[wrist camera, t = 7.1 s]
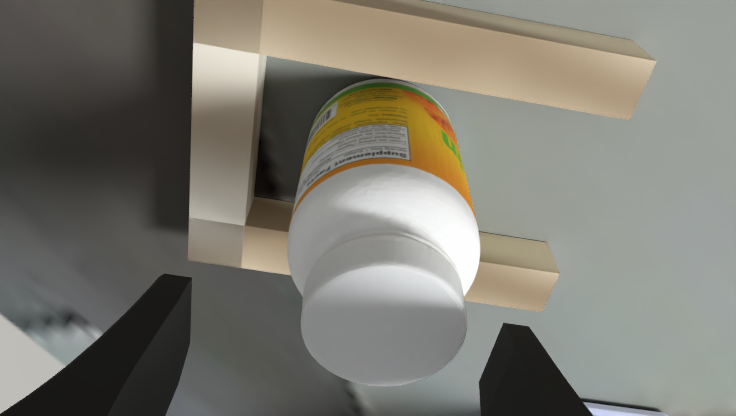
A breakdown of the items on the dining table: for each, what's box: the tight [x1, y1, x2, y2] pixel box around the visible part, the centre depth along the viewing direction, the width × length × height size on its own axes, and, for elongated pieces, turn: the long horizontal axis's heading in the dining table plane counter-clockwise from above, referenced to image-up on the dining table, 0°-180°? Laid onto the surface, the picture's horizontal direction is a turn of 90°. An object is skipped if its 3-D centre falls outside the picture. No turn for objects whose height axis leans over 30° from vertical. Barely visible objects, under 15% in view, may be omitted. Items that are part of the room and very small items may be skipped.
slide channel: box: [188, 0, 656, 312], centre depth 22 cm, size 10×14×2 cm
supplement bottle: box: [287, 79, 480, 386], centre depth 18 cm, size 5×5×10 cm
